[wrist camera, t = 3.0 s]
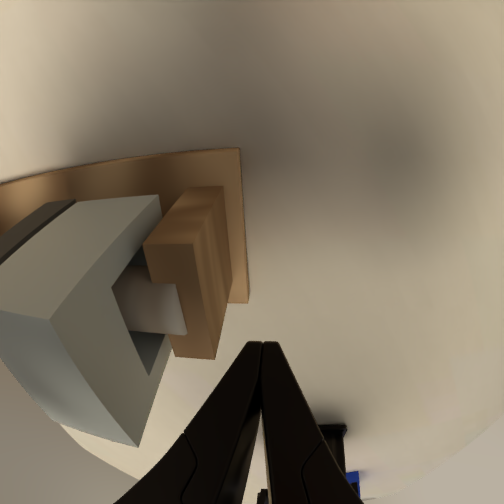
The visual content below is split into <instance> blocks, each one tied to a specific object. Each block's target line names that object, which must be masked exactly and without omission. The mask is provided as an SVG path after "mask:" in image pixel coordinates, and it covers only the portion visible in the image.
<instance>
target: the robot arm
mask: <svg viewBox="0 0 504 504" xmlns="http://www.w3.org/2000/svg"><path fill="white" fill-rule="evenodd" d="M261 413H262V428H263V440H264V451H265V463H266V475H267V487H268V489H261V492H260V493H258V496H257V504H364V503H363V502H362V500H361V499H360V497H359V494H358V486H357V482H352V483H351V484H350V483H349V482H348V480H347V479H346V468H345V454H344V442H343V437H344V435H345V433H346V431H347V426H346V425H333V426H318V425H317V422H316V420H315V418H314V416H313V414H312V412H311V410H310V408H309V406H308V404H307V401H306V399H305V397H304V395H303V393H302V391H301V389H300V387H299V385H298V383H297V380H296V378H295V376H294V374H293V372H292V370H291V368H290V366H289V363H288V361H287V359H286V357H285V355H284V353H283V351H282V348H281V346H280V344H279V343H278V342H276V341H265V342H264V343H262V342H261V341H248V342H247V343H246V344H245V346H244V347H243V349H242V350H241V352H240V353H239V355H238V356H237V358H236V359H235V360H234V362H233V363H232V365H231V366H230V368H229V369H228V370H227V372H226V373H225V375H224V376H223V378H222V379H221V380H220V382H219V383H218V385H217V386H216V387H215V389H214V390H213V392H212V393H211V394H210V396H209V397H208V399H207V400H206V401H205V403H204V404H203V406H202V407H201V408H200V410H199V411H198V412H197V414H196V415H195V416H194V418H193V419H192V421H191V422H190V423H189V425H188V426H187V427H186V429H185V430H184V433H182V434H181V435H180V436H179V438H178V439H177V440H176V442H175V443H174V444H173V445H172V447H171V448H170V449H169V450H168V452H167V453H166V454H165V455H164V456H163V458H162V459H161V460H160V461H159V462H158V463H157V464H156V465H155V466H154V467H153V468H152V469H151V470H150V471H149V472H148V473H147V474H146V475H145V476H144V477H143V478H142V479H141V480H139V481H138V482H137V483H136V484H135V485H134V486H133V487H132V488H131V489H130V490H129V491H128V492H126V493H125V494H124V495H123V496H122V497H121V498H120V499H119V500H117V501H116V502H115V503H113V504H242V500H243V496H244V491H245V487H246V482H247V478H248V473H249V469H250V464H251V460H252V455H253V450H254V446H255V441H256V436H257V431H258V426H259V421H260V415H261Z"/></svg>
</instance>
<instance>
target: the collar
mask: <svg viewBox="0 0 504 504" xmlns="http://www.w3.org/2000/svg"><path fill="white" fill-rule="evenodd" d="M75 203H76V199H68V200H61V201H53V202H47V203H45V204H44V205H42V206H41V207H39V208H38V209H36V210H35V211H34V212H32V213H31V214H29V215H28V216H27V217H25V218H24V219H23V220H21V221H20V222H18V223H17V224H16V225H15V226H13V227H12V228H11V229H9V230H8V231H7V232H5V233H4V234H3V235H2V236H0V265H1V264H2V263H3V262H5V261H6V260H7V259H8V258H9V257H10V256H11V255H12V254H13V253H14V252H16V251H17V250H18V249H19V248H20V247H21V246H22V245H24V244H25V243H26V242H27V241H28V240H29V239H31V238H32V237H33V236H34V235H35V234H37V233H38V232H39V231H40V230H42V229H43V228H44V227H45V226H47V225H48V224H49V223H50V222H52V221H53V220H54V219H55V218H57V217H58V216H59V215H61V214H62V213H63V212H65V211H66V210H67V209H69V208H70V207H71V206H73V205H74V204H75Z"/></svg>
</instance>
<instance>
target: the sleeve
mask: <svg viewBox="0 0 504 504" xmlns="http://www.w3.org/2000/svg"><path fill="white" fill-rule="evenodd" d="M162 218H163V217H162V212H161V206H160V201H159V195H145V196H132V197H121V198H110V199H100V200H90V201H81V202H77V203H75V204H74V205H73V206H71V207H70V208H69V209H67V210H66V211H65V212H63V213H62V214H61V215H59V216H58V217H57V218H55V219H54V220H53V221H52V222H50V223H49V224H48V225H47V226H45V227H44V228H43V229H42V230H40V231H39V232H38V233H37V234H35V235H34V236H33V237H32V238H31V239H29V240H28V241H27V242H26V243H25V244H24V245H22V246H21V247H20V248H19V249H18V250H17V251H16V252H14V253H13V254H12V255H11V256H10V257H9V258H8V259H7V260H6V261H5V262H3V263H2V264H1V265H0V358H1V359H2V361H3V362H4V364H5V365H6V366H7V368H8V369H9V370H10V372H11V373H12V374H13V376H14V377H15V378H16V379H17V381H18V382H19V383H20V384H21V386H22V387H23V388H24V389H25V390H26V392H27V393H28V394H29V395H30V396H31V397H32V399H33V400H34V401H35V402H36V403H37V404H38V405H39V407H40V408H41V409H42V410H43V411H44V412H45V413H46V414H47V415H48V416H49V417H50V418H51V419H52V420H53V421H55V422H58V423H60V424H63V425H66V426H68V427H71V428H74V429H77V430H79V431H82V432H85V433H88V434H91V435H94V436H98V437H101V438H104V439H107V440H111V441H114V442H118V443H122V444H125V445H129V446H133V447H137V448H139V445H140V441H141V438H142V435H143V432H144V429H145V426H146V423H147V420H148V416H149V413H150V410H151V407H152V404H153V401H154V398H155V395H156V393H157V390H158V387H159V384H160V381H161V378H162V375H163V372H164V369H165V366H166V364H167V361H168V358H169V355H170V352H171V350H172V346H171V343H170V340H169V337H168V334H161V333H150V332H140V331H130V330H127V327H126V325H125V322H124V320H123V317H122V315H121V312H120V310H119V307H118V305H117V302H116V299H115V297H114V294H113V291H112V289H111V287H112V285H113V284H114V282H115V281H116V280H117V278H118V277H119V275H120V274H121V273H122V271H123V270H124V269H125V267H126V266H127V265H143V266H147V262H146V258H145V254H144V250H143V246H142V244H143V243H144V241H145V240H146V239H147V237H148V236H149V235H150V234H151V232H152V231H153V230H154V228H155V227H156V226H157V225H158V223H159V222H160V221H161V220H162Z"/></svg>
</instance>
